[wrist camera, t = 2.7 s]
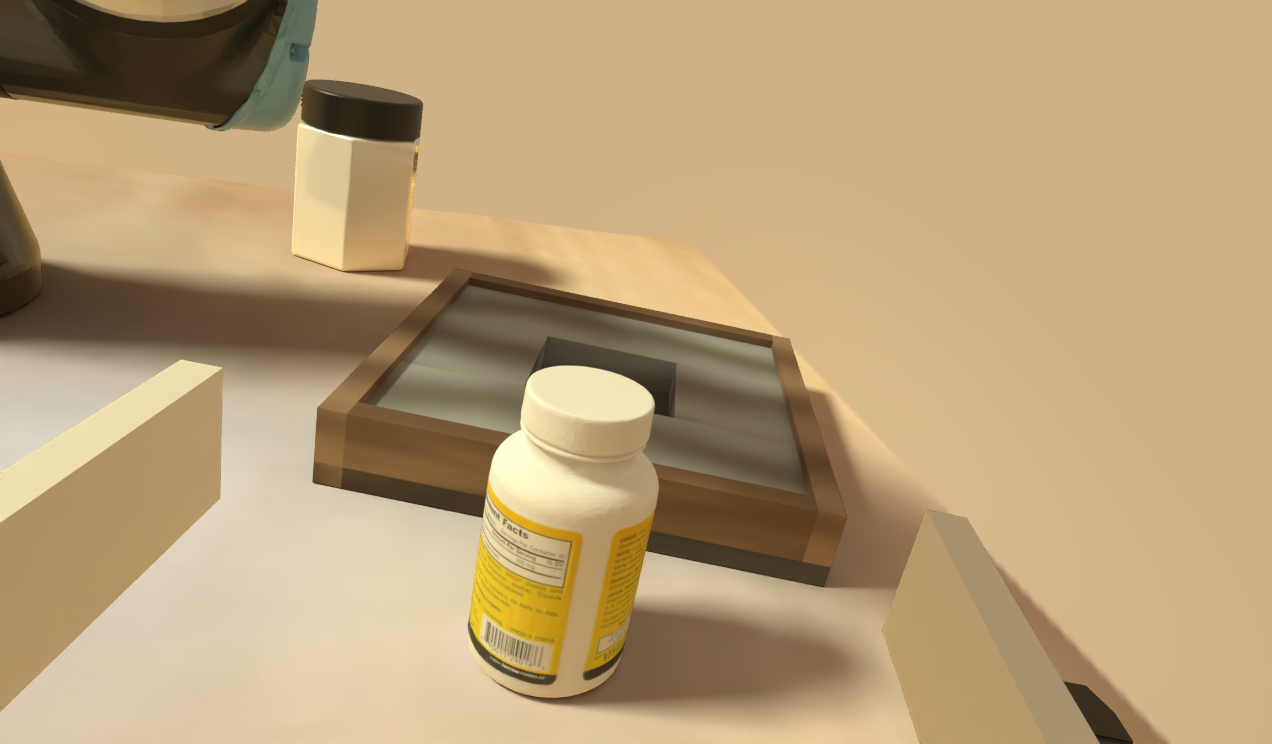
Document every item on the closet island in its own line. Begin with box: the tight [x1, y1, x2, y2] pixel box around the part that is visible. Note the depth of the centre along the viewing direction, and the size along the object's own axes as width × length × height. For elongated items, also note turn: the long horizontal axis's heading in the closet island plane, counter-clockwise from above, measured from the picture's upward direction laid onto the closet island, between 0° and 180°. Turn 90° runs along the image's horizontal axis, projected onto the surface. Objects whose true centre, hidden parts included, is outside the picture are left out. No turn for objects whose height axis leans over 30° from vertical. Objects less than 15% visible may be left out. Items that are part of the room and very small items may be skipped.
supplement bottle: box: [468, 366, 659, 698], centre depth 28 cm, size 5×5×10 cm
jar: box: [292, 80, 423, 271], centre depth 63 cm, size 9×8×12 cm
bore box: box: [313, 269, 847, 587], centre depth 46 cm, size 22×22×4 cm
